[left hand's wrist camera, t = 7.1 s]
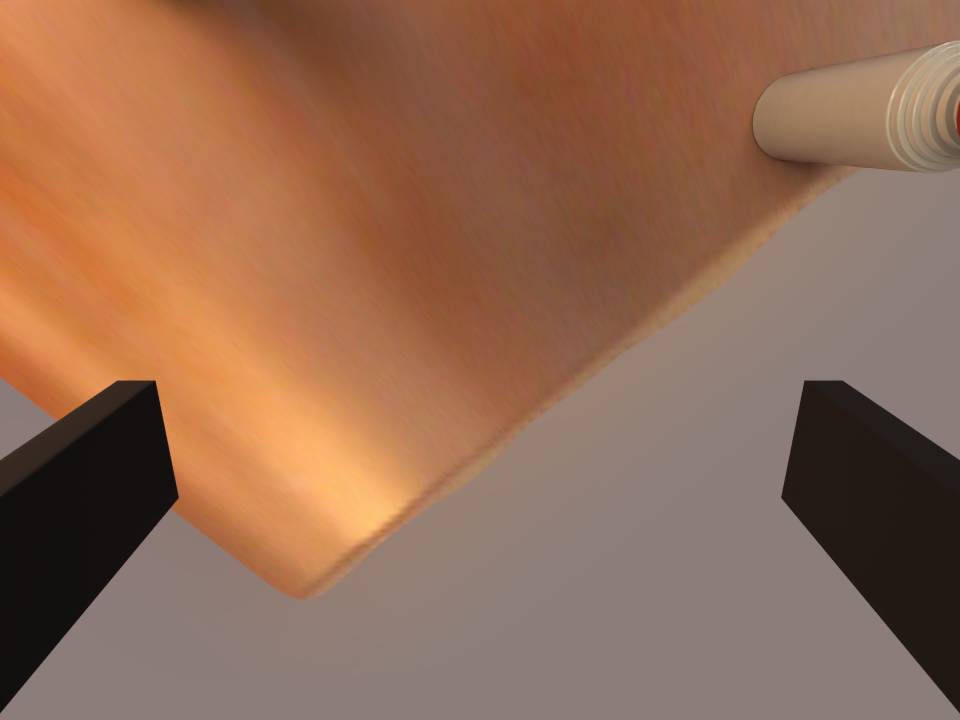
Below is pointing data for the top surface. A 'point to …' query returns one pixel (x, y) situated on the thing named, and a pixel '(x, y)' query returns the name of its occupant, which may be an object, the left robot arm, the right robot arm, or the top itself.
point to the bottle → (868, 112)
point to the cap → (958, 119)
